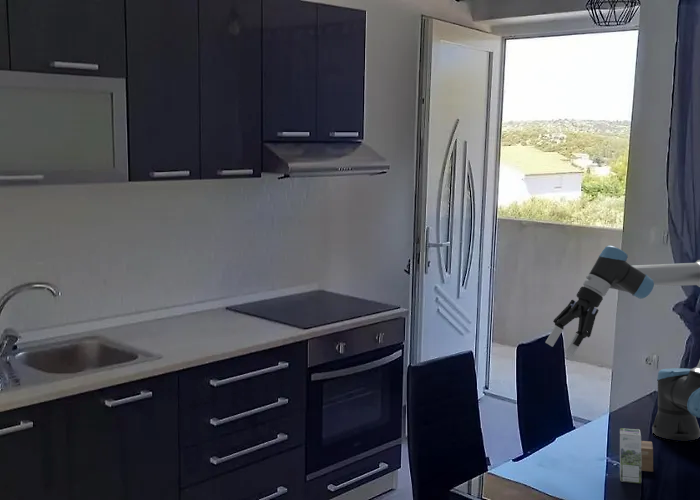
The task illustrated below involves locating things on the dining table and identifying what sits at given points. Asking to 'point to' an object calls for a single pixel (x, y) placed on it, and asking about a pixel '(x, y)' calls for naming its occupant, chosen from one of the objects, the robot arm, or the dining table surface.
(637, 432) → the syrup box
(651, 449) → the letter cube
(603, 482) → the dining table surface
